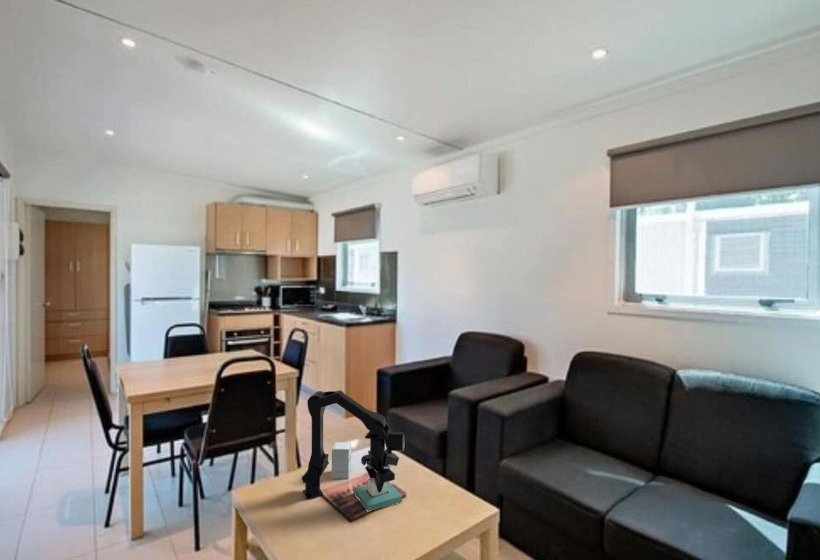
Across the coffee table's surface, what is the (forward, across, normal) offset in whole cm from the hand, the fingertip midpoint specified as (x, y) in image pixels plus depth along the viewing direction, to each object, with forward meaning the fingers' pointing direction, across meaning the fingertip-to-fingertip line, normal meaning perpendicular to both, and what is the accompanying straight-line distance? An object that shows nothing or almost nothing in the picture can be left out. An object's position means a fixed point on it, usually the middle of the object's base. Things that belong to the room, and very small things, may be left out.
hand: (377, 489), depth 161 cm
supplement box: (+4, +24, +6) cm, 25 cm away
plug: (+1, 0, 0) cm, 1 cm away
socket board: (+4, 0, 0) cm, 4 cm away
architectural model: (+4, +18, -11) cm, 22 cm away
